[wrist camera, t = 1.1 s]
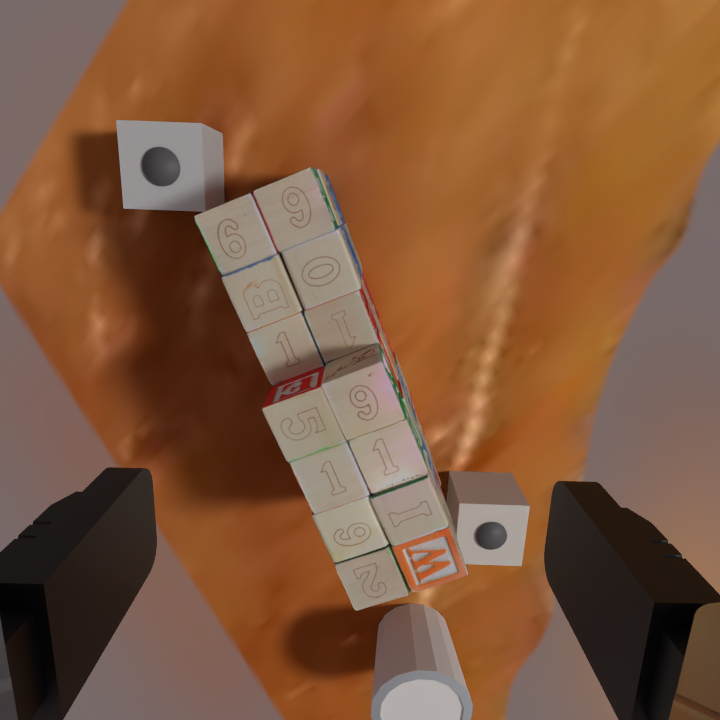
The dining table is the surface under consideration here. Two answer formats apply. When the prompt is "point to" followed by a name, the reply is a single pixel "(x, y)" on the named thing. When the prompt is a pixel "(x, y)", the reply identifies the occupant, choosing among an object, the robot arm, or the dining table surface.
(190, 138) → the grey marked cube
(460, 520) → the ivory marked cube
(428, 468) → the stack of blocks
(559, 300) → the dining table surface
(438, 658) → the shot glass
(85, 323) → the dining table surface
